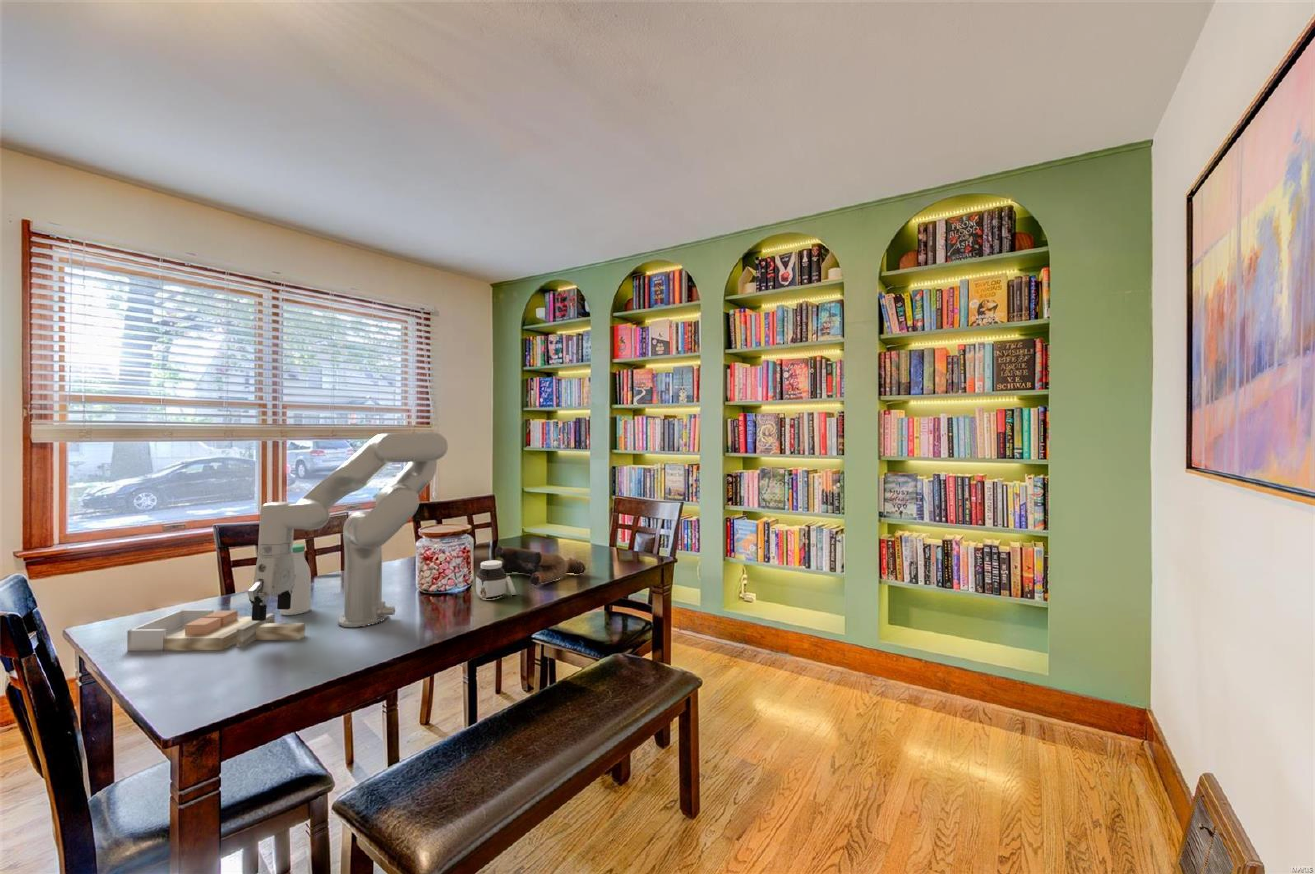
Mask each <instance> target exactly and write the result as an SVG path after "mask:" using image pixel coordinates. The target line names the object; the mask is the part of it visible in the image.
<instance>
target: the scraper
mask: <svg viewBox="0 0 1315 874" xmlns="http://www.w3.org/2000/svg"><path fill="white" fill-rule="evenodd" d="M275 615H276V614H275V613H266V620H264V621H253V622H251V623H249V624H247V625H245V626H243V627H241V628H239V629H237V643H236V648H241V647H240V646H243V647H245V646H247V645H249V644H251V643H252V642H254V640H255V641H257V640H259V641H261V640H265V641H267V640H269V641H270V640H273V641H275V640H278V639H279V641H280V640H300V638H301V637H302V638H303V637H304V638H305V636H306V623H305V622H276V623H275V617H276V616H275ZM302 638H301V639H302ZM250 642H251V643H250Z"/></svg>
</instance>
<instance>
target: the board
mask: <svg viewBox="0 0 1315 874" xmlns="http://www.w3.org/2000/svg"><path fill="white" fill-rule="evenodd" d="M251 622H253V621H252V615H251V616H249V615H248V616H247V615H246V616H238V620H236V621H233V622H231V623H229V624H227V625H225V626H221V627H220V628H218V629H216V630H214V631H212V632H210V633H208V634H199V635H185V630H182V631H180V632H178V633H176V634H173V635H171V636H169V637H166V638H164V650H163V651H166V652H167V651H224V650H225V649H228V648H229V647H231V646H233V645H235V644H237V629H239V628H241V627H243V626H245V625H247V624H249V623H251Z"/></svg>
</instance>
